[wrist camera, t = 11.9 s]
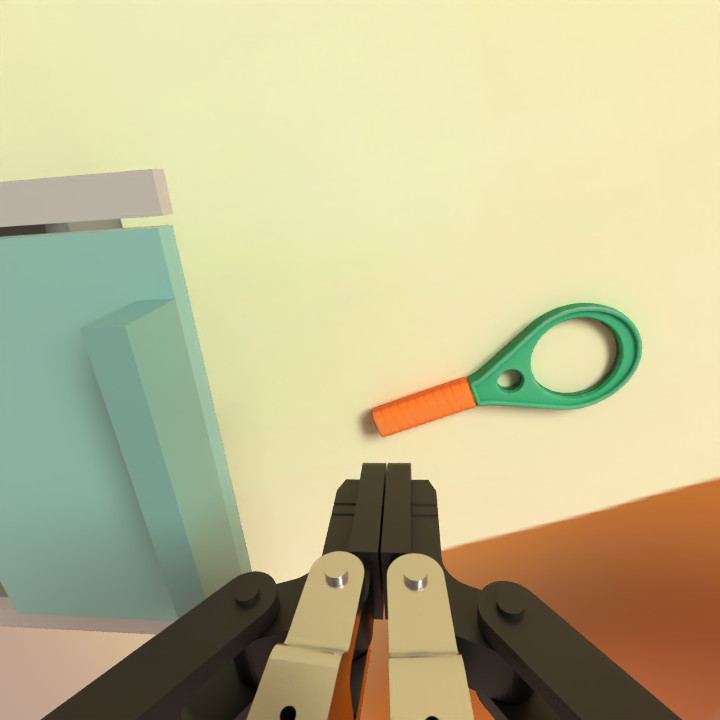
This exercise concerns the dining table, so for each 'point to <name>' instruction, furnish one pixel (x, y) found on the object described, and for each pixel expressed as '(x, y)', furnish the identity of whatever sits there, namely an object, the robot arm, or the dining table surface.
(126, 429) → the lid
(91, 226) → the housing
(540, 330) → the magnifying glass
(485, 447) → the dining table surface
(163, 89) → the dining table surface
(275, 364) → the dining table surface
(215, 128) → the dining table surface
